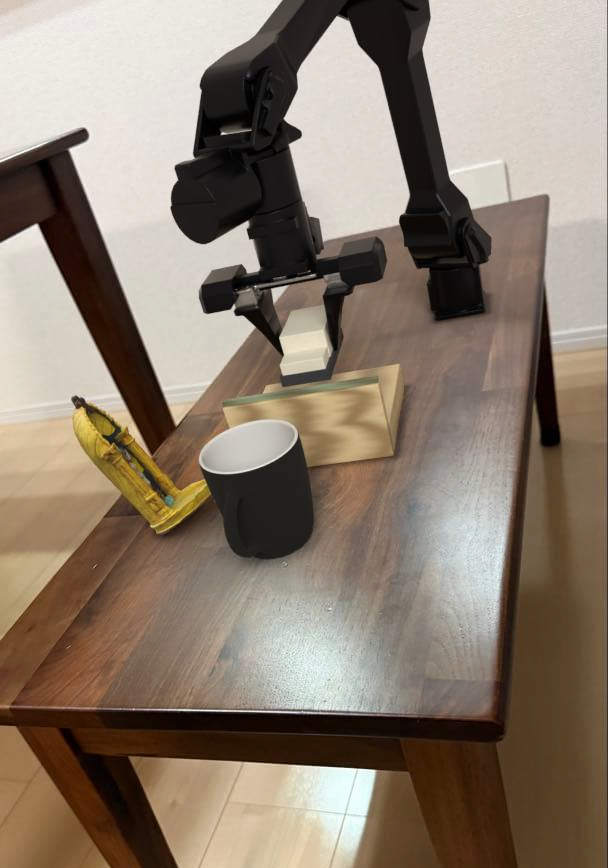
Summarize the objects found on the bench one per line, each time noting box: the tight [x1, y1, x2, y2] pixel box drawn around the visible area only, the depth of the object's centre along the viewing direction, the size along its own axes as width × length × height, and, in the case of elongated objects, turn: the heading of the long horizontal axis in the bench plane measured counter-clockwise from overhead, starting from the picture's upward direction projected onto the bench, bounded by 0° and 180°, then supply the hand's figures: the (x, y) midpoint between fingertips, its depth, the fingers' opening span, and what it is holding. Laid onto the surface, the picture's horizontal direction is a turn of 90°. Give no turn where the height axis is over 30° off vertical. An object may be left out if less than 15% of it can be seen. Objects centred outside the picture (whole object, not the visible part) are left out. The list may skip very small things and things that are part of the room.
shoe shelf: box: [221, 363, 405, 468], centre depth 91 cm, size 16×15×9 cm
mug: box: [198, 419, 315, 560], centre depth 74 cm, size 12×9×10 cm
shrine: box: [70, 394, 212, 536], centre depth 81 cm, size 12×8×15 cm
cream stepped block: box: [279, 304, 345, 387], centre depth 89 cm, size 5×10×4 cm, turn 170°
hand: (312, 353), depth 90 cm, fingers closed on cream stepped block, 5 cm apart
